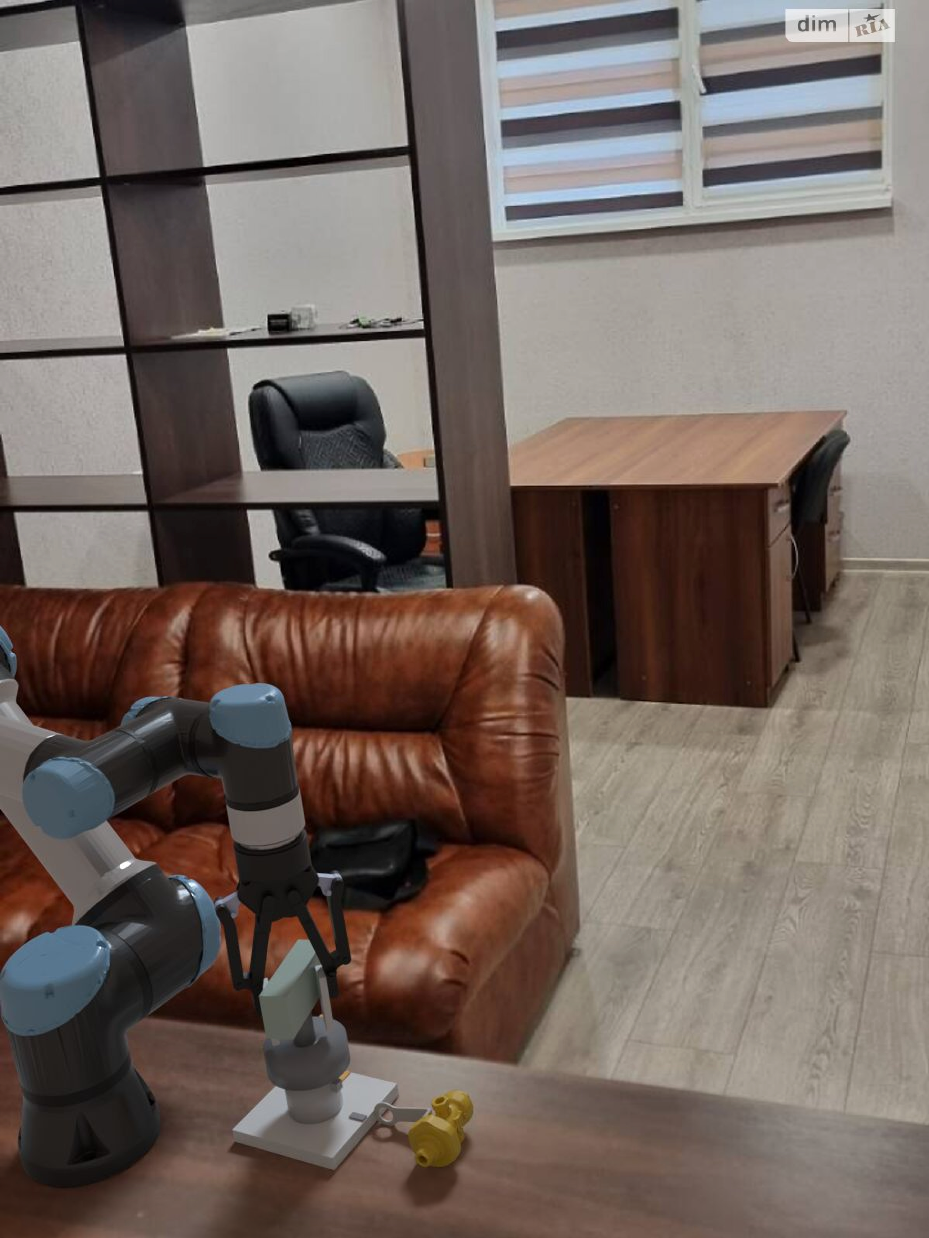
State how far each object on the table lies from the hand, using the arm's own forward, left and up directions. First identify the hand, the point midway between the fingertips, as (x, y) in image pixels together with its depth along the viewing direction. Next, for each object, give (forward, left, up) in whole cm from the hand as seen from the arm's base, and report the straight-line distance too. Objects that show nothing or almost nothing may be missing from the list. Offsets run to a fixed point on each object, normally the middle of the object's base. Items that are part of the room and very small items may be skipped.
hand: (301, 1031), depth 145 cm
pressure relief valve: (+13, 0, -12) cm, 17 cm away
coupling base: (0, 0, -11) cm, 11 cm away
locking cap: (0, +1, -4) cm, 4 cm away
